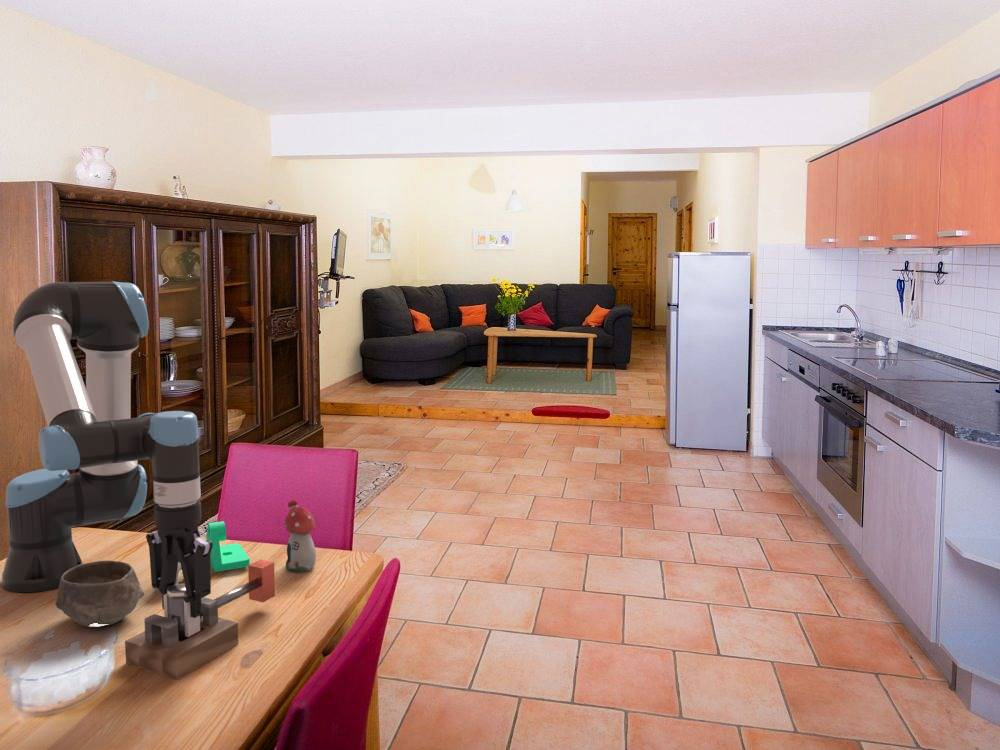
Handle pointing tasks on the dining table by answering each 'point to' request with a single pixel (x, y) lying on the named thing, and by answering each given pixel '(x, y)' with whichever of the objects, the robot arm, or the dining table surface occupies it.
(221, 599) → the pin
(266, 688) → the dining table surface
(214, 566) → the camera mount
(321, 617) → the dining table surface
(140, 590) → the bowl
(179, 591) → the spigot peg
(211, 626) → the dock block
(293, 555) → the decorative ornament
